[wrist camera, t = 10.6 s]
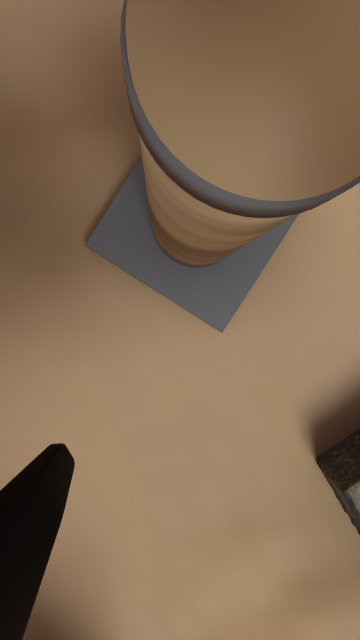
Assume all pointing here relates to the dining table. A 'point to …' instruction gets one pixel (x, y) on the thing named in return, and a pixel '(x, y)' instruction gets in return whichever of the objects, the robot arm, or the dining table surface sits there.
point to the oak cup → (241, 114)
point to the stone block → (344, 474)
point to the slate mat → (169, 276)
